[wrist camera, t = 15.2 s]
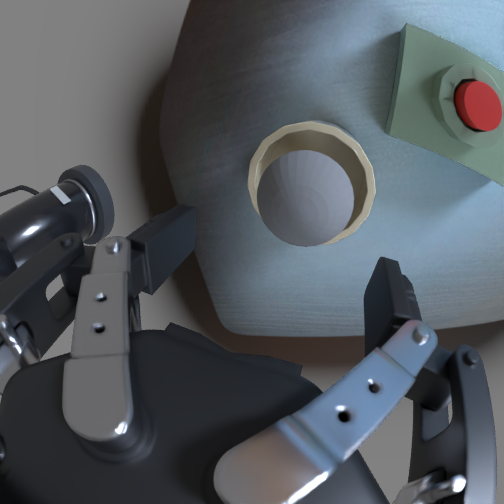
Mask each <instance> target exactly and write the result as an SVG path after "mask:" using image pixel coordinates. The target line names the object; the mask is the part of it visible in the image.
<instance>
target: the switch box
mask: <svg viewBox="0 0 504 504" xmlns="http://www.w3.org/2000/svg"><path fill="white" fill-rule="evenodd" d="M474 81H481V82H484V83H486V84H488V85H489V86H490V87H491V88H492V89H493V90H494V91H495V92H496V94H497V95H498V97H499V100H500V102H501V106H502V118H501V122H500V124H499V125H498V127H497V128H495V129H494V130H491V131H484V130H480V129H476V128H473V127H470V126H469V125H467V124H466V123H465V122H464V121H463V120H462V119H461V117H460V115H459V114H458V111H457V109H456V105H455V94H456V91H457V89H458V87H459V86H460V85H461V84H463V83H466V82H474ZM385 133H386V134H388V135H389V136H392V137H395V138H398V139H401V140H404V141H407V142H409V143H412V144H415V145H417V146H420V147H422V148H425V149H427V150H430V151H432V152H435V153H437V154H439V155H442V156H444V157H446V158H449V159H451V160H453V161H455V162H457V163H459V164H462V165H464V166H466V167H468V168H470V169H472V170H474V171H476V172H478V173H480V174H482V175H483V176H485V177H487V178H489V179H491V180H493V181H494V182H496V183H498V184H500V185H501V186H504V72H502V71H501V70H499V69H498V68H496V67H495V66H493V65H492V64H490V63H488V62H487V61H485V60H484V59H482V58H480V57H478V56H477V55H475V54H473V53H471V52H470V51H468V50H466V49H464V48H462V47H460V46H458V45H456V44H454V43H452V42H450V41H448V40H446V39H444V38H442V37H440V36H437V35H435V34H433V33H430V32H428V31H426V30H423V29H421V28H418V27H415V26H413V25H410V24H407V23H406V24H405V25H404V27H403V28H402V29H401V34H400V44H399V53H398V61H397V68H396V75H395V82H394V88H393V94H392V99H391V105H390V110H389V115H388V120H387V124H386V129H385Z"/></svg>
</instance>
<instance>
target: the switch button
mask: <svg viewBox="0 0 504 504" xmlns="http://www.w3.org/2000/svg"><path fill="white" fill-rule="evenodd" d="M455 105H456V109H457V111H458V114H459V115H460V117H461V119H462V120H463V121H464V122H465V123H466V124H467V125H469V126H470V127H473V128H476V129H480V130H484V131H491V130H494V129H495V128H497V127H498V125H499V124H500V122H501V118H502V106H501V102H500V100H499V97H498V95H497V94H496V92H495V91H494V90H493V89H492V88H491V87H490V86H489V85H488V84H486V83H484V82H481V81H474V82H466V83H463V84H461V85H460V86H459V87H458V89H457V91H456V94H455Z"/></svg>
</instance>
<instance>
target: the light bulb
mask: <svg viewBox="0 0 504 504" xmlns="http://www.w3.org/2000/svg"><path fill="white" fill-rule="evenodd" d="M257 206H258V209H259V213H260V216H261V218H262V220H263V222H264V223H265V225H266V226H267V227H268V229H269V230H270V231H271V232H272V233H273V234H274V235H275V236H277V237H278V238H279V239H281V240H283V241H285V242H287V243H289V244H292V245H296V246H304V247H308V246H317V245H320V244H324V243H326V242H328V241H330V240H332V239H333V238H334V237H336V236H337V235H338V234H340V233H341V231H342V230H343V229H344V228H345V227H346V225H347V223H348V221H349V220H350V218H351V215H352V211H353V207H354V195H353V188H352V185H351V182H350V179H349V177H348V176H347V174H346V172H345V171H344V169H343V168H342V167H341V166H340V165H339V164H338V163H337V162H336V161H334V160H333V159H332V158H330V157H329V156H327V155H324V154H322V153H320V152H316V151H311V150H299V151H293V152H289V153H287V154H284V155H282V156H280V157H279V158H277V159H276V160H274V161H273V162H272V163H271V164H270V165H269V166H268V167H267V168H266V169H265V171H264V173H263V174H262V176H261V179H260V181H259V184H258V189H257Z"/></svg>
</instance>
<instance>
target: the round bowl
mask: <svg viewBox="0 0 504 504" xmlns="http://www.w3.org/2000/svg"><path fill="white" fill-rule="evenodd" d="M299 150H311V151H316V152H320V153H322V154H324V155H327V156H329V157H330V158H332V159H333V160H334V161H336V162H337V163H338V164H339V165H340V166H341V167H342V168H343V169H344V171H345V172H346V174H347V176H348V177H349V179H350V182H351V185H352V188H353V195H354V207H353V211H352V215H351V218H350V220H349V221H348V223H347V225H346V227H345V228H344V229H343V230H342V231H341V233H340V234H338V235H337V236H336V237H334V238H333V239H332V240H330V241H328V242H326V243H324V244H332V243H335V242H337V241H339V240H341V239H343V238H345V237H347V236H349V235H351V234H353V233H354V232H355V231H356V230H357V229H358V227H359V226H360V225H361V224H362V223H363V222H364V221H365V219H366V218H367V217H368V216H369V213H370V210H371V207H372V204H373V200H374V197H375V194H376V189H375V181H374V173H373V167H372V165H371V163H370V161H369V159H368V158H367V156H366V154H365V153H364V151H363V149H362V148H361V146H360V144H359V143H358V141H357V140H356V138H355V137H354V136H352V135H351V134H350V133H348V132H347V131H346V130H344V129H343V128H341V127H340V126H338V125H337V124H333V123H329V122H326V121H320V120H308V121H303V122H297V123H293V124H289V125H286V126H283V127H281V128H280V129H278V130H277V131H275V132H274V133H272V134H271V135H270V136H268V137H267V138H265V139H264V140H263V141H262V142H261V144H260V146H259V147H258V149H257V150H256V152H255V154H254V155H253V157H252V159H251V161H250V166H249V174H248V182H247V184H248V185H247V186H248V189H249V193H250V197H251V200H252V204H253V207H254V209H255V210H256V212H257V213H258V214H259V216H260V213H259V209H258V206H257V189H258V184H259V181H260V179H261V176H262V174H263V173H264V171H265V169H266V168H267V167H268V166H269V165H270V164H271V163H272V162H273V161H274V160H276V159H277V158H279V157H280V156H282V155H284V154H287V153H289V152H293V151H299ZM260 217H261V216H260ZM324 244H320V245H324Z"/></svg>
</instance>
